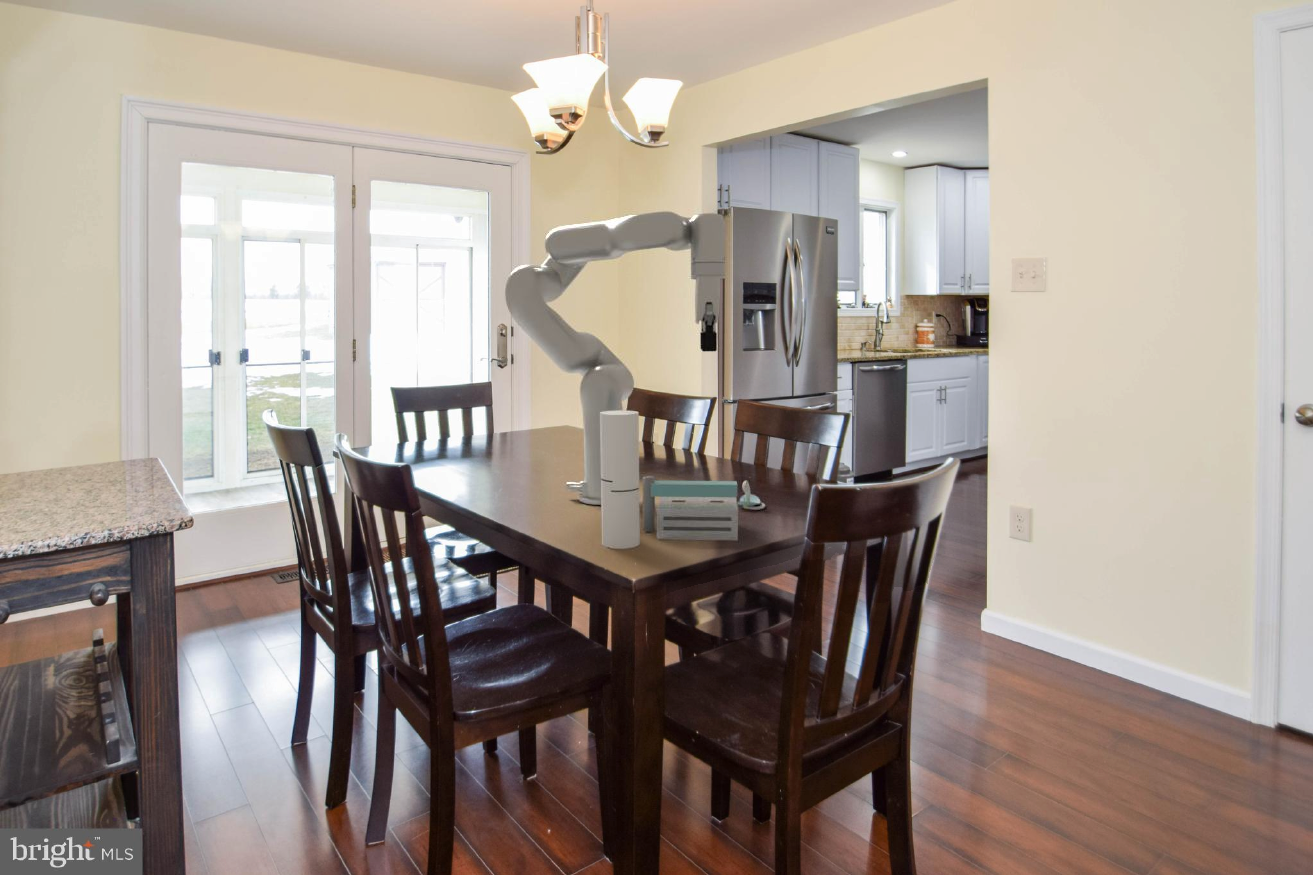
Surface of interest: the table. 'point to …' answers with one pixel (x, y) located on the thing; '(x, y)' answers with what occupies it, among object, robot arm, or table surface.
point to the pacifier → (750, 499)
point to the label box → (697, 518)
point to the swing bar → (680, 493)
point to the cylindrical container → (620, 478)
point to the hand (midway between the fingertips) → (708, 350)
